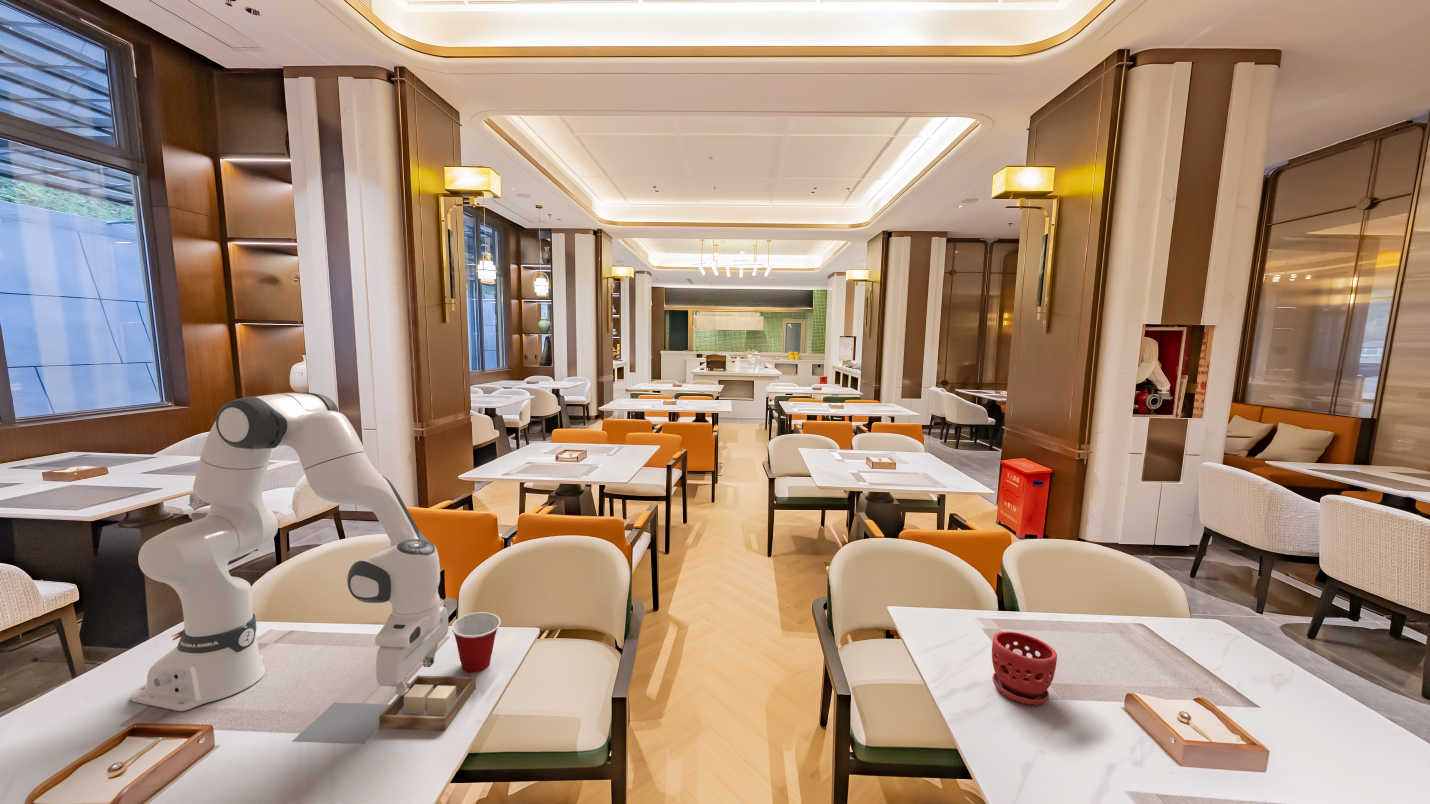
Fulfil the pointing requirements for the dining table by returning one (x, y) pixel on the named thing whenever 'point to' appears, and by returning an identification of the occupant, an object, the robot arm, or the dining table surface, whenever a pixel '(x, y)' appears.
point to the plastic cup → (475, 639)
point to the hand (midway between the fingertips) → (416, 678)
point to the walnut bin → (428, 722)
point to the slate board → (344, 723)
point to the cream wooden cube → (417, 699)
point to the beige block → (441, 699)
